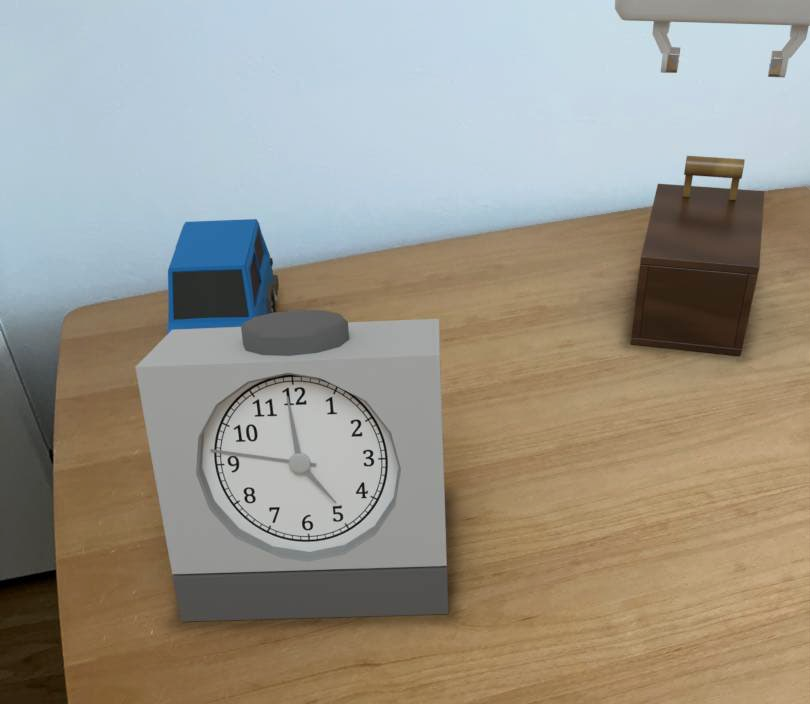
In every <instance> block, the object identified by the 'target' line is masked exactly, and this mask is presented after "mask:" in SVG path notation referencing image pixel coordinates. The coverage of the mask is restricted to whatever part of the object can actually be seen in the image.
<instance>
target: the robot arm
mask: <svg viewBox="0 0 810 704" xmlns="http://www.w3.org/2000/svg"><path fill="white" fill-rule="evenodd" d="M614 9H615V10H614V11H615V12H616V13H617V15H618V17H619V18H620V20H622V21H628V22H629V21H630V22H653V23H652V36H653V38H654V41H655V43H656V45H657V47H658V50H659V52H660V54H661V55H662V56H661V64H660V65H661V66H660V73H663V74H666V73H667V74H677V73H678V70H679V64H680V56H681V47H679V46H678V47H677V46H672V44H671V41H670V39H669V36H668V34H669V31H670V28H671V23H700V24H701V23H702V24H729V25H730V24H731V25H733V24H734V25H766V26H767V25H768V26H770V25H771V26H790V27H789V40H788V41H787V42H786V44H784V46H783V48H782V49H781V50H772V51H771V54H770V62H769V64H768V71H767V72H768V73H767V78H786V75H787V74H786V73H787V71H788V70H787V69H788V65H789V60H790V59H791V58H792V57H793V56H794V55H795V54H796V52H797V51H798V50H799V48H800V47H801V46H802V45H803V44H804V42H805V41H806V40H807V35H808V32H809V27H810V0H614Z"/></svg>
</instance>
